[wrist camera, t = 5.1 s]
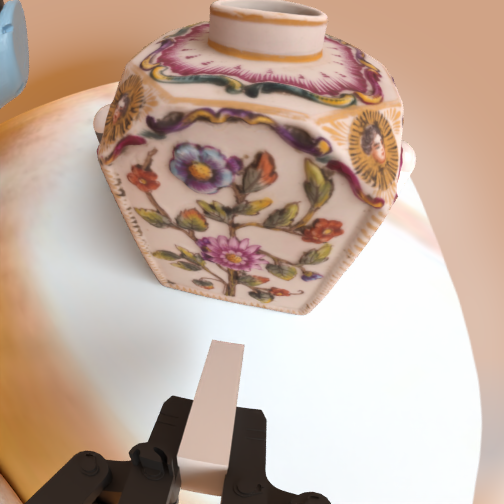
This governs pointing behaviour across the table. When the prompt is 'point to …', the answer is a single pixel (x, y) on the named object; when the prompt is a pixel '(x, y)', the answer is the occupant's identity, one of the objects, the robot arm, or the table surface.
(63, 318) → the table surface
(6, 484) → the stone
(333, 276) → the decorative jar
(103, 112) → the pepper shaker
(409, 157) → the salt shaker
